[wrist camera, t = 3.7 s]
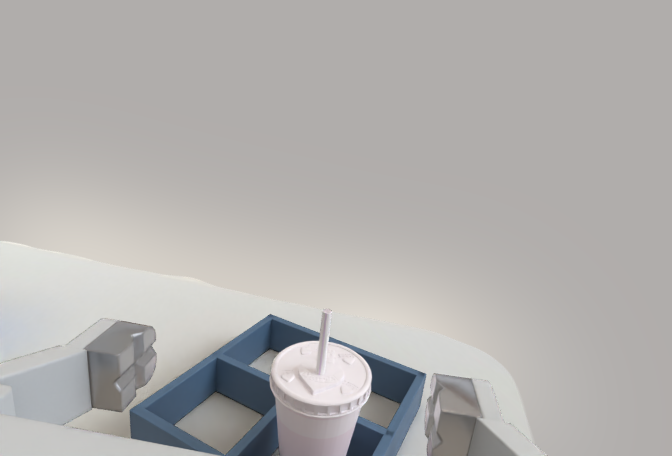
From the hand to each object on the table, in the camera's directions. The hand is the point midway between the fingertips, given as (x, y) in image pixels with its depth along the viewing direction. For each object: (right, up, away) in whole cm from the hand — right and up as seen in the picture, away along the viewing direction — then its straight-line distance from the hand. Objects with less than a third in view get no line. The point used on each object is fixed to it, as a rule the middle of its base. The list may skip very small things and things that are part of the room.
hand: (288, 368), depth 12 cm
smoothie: (-1, -14, +17) cm, 22 cm away
